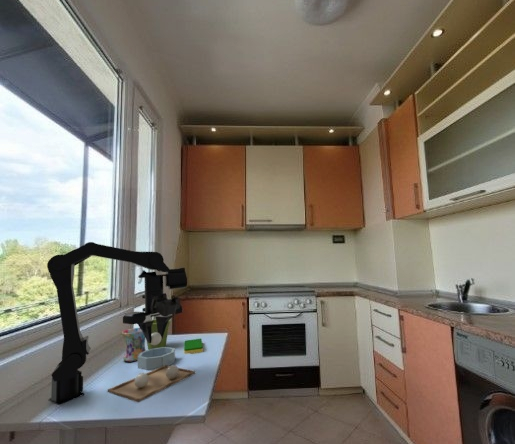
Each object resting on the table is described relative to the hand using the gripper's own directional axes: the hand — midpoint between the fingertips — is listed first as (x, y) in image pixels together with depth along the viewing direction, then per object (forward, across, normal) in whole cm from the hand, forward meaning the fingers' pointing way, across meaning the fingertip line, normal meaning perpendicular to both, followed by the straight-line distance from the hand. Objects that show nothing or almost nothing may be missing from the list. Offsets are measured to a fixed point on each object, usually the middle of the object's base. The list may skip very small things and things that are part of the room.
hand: (155, 341), depth 90 cm
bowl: (+11, +8, +10) cm, 17 cm away
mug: (+11, +10, +25) cm, 29 cm away
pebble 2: (+10, +1, -7) cm, 12 cm away
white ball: (+1, 0, 0) cm, 1 cm away
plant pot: (+11, +22, +28) cm, 37 cm away
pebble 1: (+10, -7, -3) cm, 13 cm away
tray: (+11, -3, -3) cm, 12 cm away
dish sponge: (+12, +27, +12) cm, 32 cm away
